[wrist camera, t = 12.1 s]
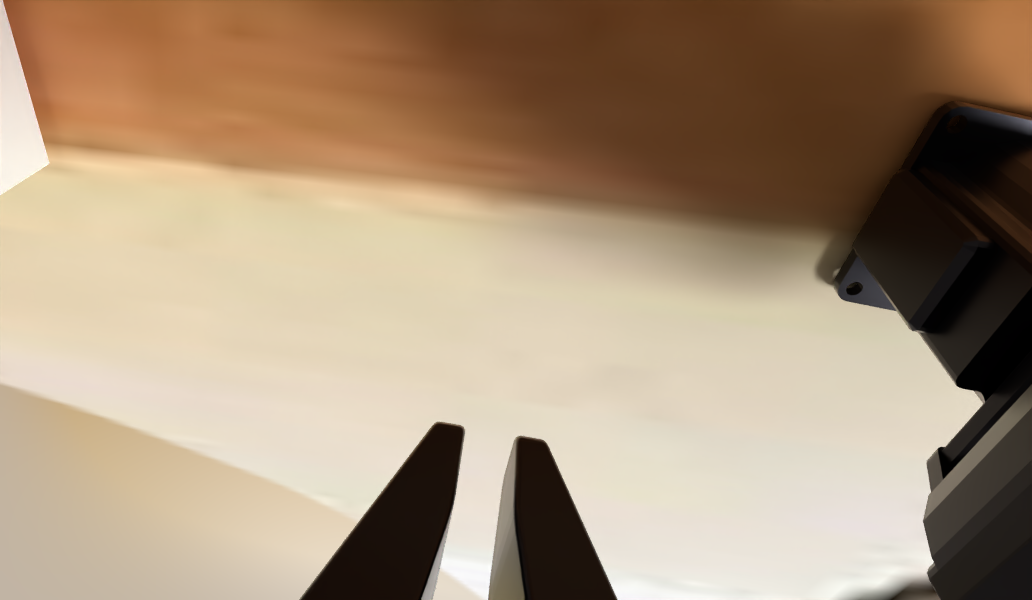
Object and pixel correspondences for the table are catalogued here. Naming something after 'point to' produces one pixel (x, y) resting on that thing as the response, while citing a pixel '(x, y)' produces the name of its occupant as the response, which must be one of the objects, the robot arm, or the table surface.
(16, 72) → the cabinet door
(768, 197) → the table surface
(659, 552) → the table surface
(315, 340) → the table surface
